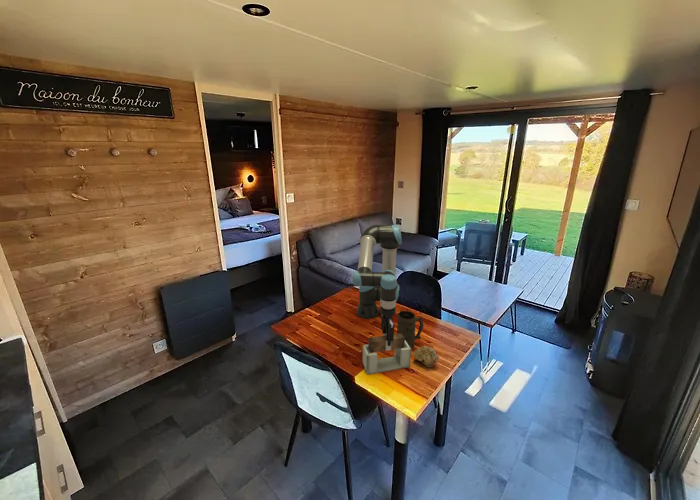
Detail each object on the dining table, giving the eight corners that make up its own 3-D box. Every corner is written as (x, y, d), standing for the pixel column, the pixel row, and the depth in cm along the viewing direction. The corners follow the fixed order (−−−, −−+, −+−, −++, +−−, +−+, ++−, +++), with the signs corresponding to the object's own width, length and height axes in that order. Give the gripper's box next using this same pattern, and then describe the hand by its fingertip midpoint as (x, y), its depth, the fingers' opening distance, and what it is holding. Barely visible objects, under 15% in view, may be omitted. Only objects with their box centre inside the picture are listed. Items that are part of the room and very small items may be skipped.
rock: (433, 357, 162) (434, 341, 159) (439, 370, 152) (440, 353, 149) (411, 357, 161) (412, 341, 158) (415, 370, 151) (416, 354, 148)
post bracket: (362, 363, 158) (362, 345, 154) (403, 356, 163) (404, 338, 159) (367, 374, 149) (367, 355, 146) (410, 367, 154) (411, 348, 151)
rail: (370, 352, 149) (370, 342, 147) (368, 348, 152) (368, 337, 151) (404, 347, 153) (404, 337, 151) (401, 343, 156) (401, 333, 155)
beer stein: (399, 352, 166) (402, 320, 160) (391, 341, 176) (394, 310, 170) (423, 349, 170) (428, 317, 164) (414, 338, 180) (419, 308, 174)
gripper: (375, 299, 153) (374, 339, 160) (386, 315, 137) (385, 358, 144) (388, 297, 154) (387, 337, 161) (401, 313, 139) (399, 356, 145)
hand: (386, 347), depth 152 cm, fingers closed on rail, 4 cm apart
